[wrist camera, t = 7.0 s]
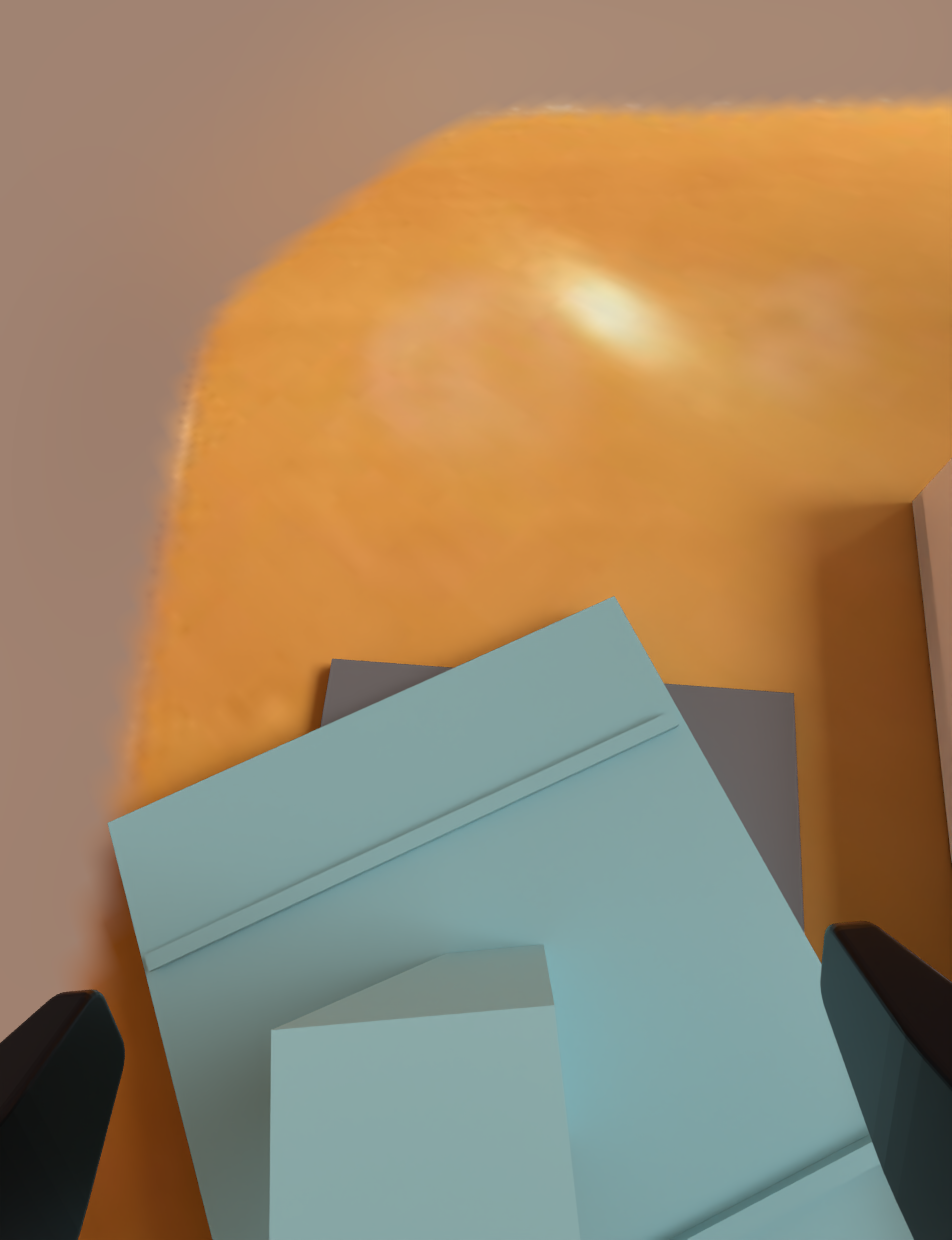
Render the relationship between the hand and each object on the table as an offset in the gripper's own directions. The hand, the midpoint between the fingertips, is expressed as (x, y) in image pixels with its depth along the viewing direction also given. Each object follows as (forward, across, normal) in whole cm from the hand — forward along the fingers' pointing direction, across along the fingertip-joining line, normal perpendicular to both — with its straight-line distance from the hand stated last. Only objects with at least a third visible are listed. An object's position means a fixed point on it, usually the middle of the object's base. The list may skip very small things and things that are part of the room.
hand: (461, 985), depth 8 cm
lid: (+4, 0, +6) cm, 8 cm away
